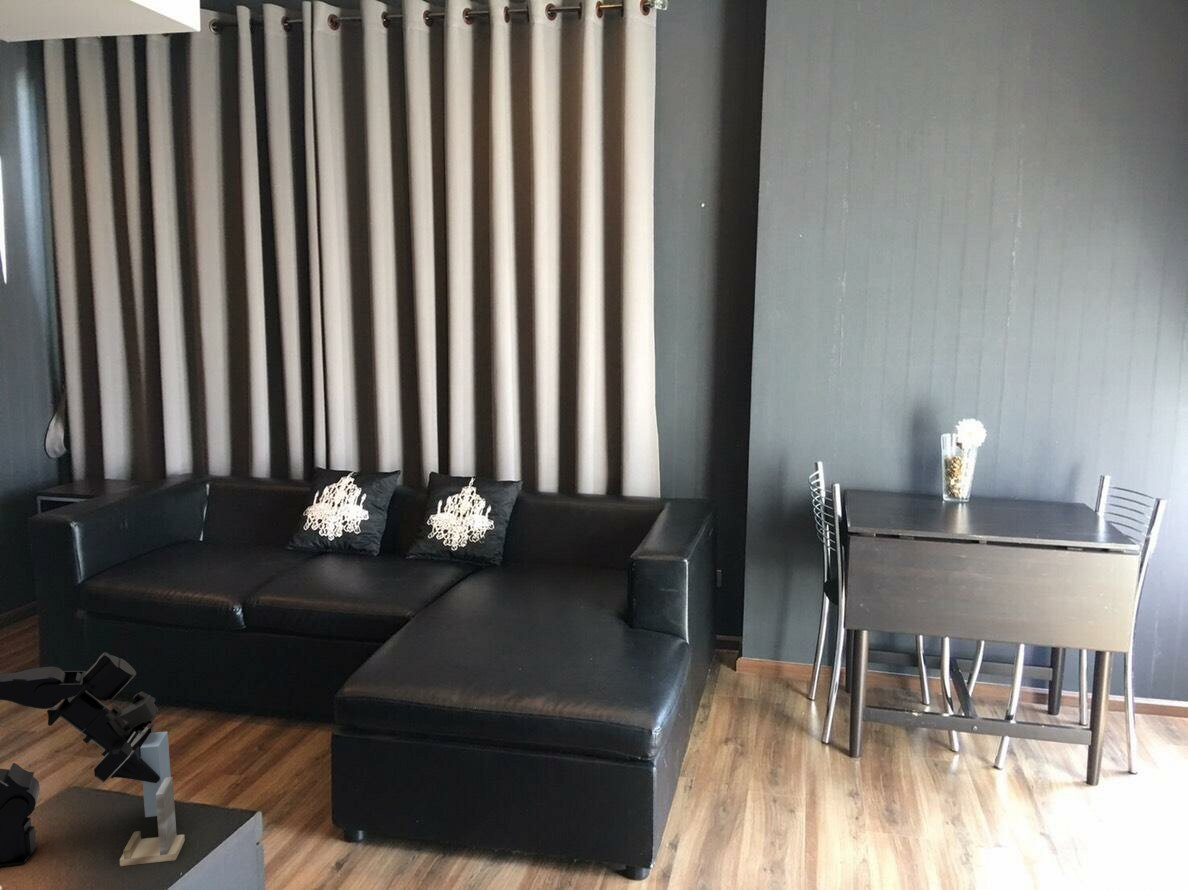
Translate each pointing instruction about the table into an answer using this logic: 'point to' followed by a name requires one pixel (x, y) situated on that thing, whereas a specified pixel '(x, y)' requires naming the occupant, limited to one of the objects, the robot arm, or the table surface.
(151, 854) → the book stand
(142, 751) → the book
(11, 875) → the table surface
